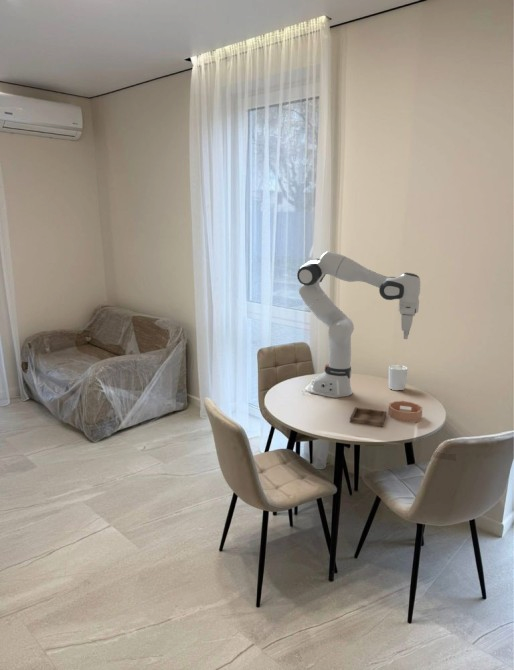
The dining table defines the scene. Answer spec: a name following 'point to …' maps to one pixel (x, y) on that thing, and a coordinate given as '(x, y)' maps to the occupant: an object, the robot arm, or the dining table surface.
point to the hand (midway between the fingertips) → (406, 336)
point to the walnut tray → (368, 417)
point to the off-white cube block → (405, 409)
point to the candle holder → (397, 377)
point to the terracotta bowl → (405, 416)
